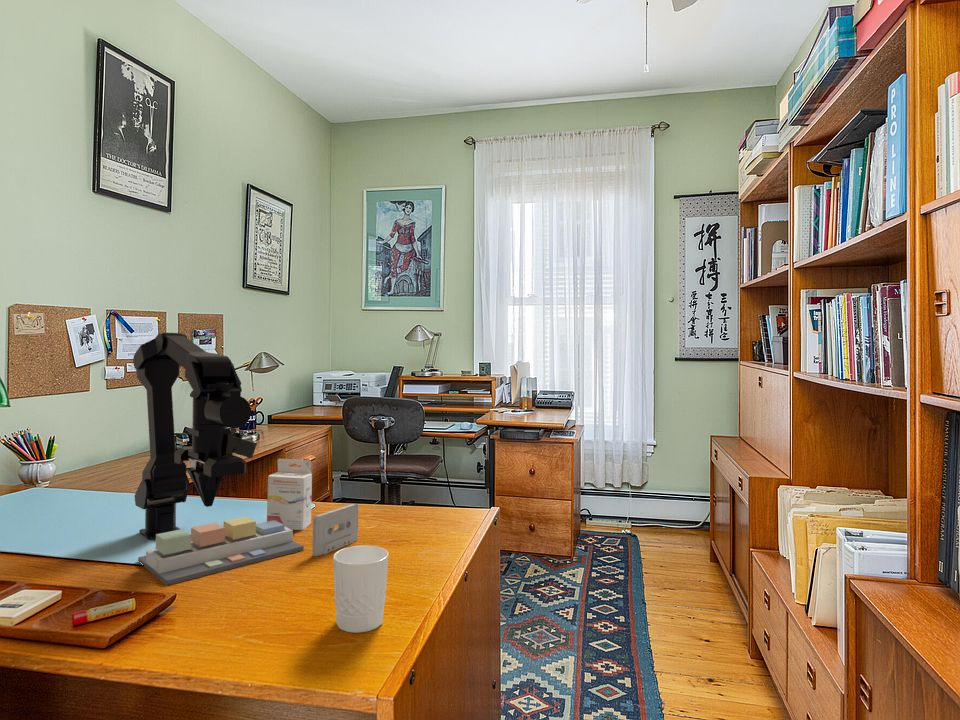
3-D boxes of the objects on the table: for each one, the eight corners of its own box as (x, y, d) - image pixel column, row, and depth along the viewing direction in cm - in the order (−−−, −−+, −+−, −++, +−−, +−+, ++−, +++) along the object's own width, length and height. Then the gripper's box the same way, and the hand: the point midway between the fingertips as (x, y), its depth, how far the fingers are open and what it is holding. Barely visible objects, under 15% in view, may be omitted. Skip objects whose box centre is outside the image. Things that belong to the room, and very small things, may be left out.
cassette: (317, 557, 110) (317, 517, 110) (310, 555, 111) (310, 516, 111) (359, 540, 121) (360, 504, 121) (353, 538, 122) (353, 502, 122)
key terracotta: (190, 541, 108) (191, 527, 108) (215, 536, 111) (215, 522, 111) (200, 547, 105) (200, 532, 105) (224, 541, 108) (224, 527, 108)
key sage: (155, 548, 104) (155, 534, 104) (181, 543, 107) (181, 529, 107) (164, 555, 101) (164, 540, 100) (190, 549, 104) (191, 534, 104)
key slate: (253, 537, 117) (253, 524, 117) (273, 532, 120) (274, 520, 120) (263, 542, 114) (263, 529, 114) (284, 537, 117) (284, 524, 117)
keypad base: (138, 561, 106) (138, 545, 106) (267, 532, 124) (267, 518, 124) (166, 585, 96) (166, 567, 96) (303, 550, 114) (303, 534, 114)
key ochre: (223, 534, 112) (223, 520, 112) (245, 529, 115) (245, 516, 115) (233, 539, 109) (233, 526, 109) (255, 534, 112) (255, 521, 112)
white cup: (337, 610, 88) (338, 545, 88) (389, 609, 89) (390, 545, 89) (327, 636, 80) (328, 564, 80) (385, 634, 81) (386, 563, 81)
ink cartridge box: (265, 528, 127) (266, 462, 127) (275, 522, 132) (276, 458, 132) (303, 530, 126) (304, 463, 126) (311, 524, 131) (312, 459, 131)
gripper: (274, 424, 107) (273, 508, 107) (231, 415, 120) (230, 490, 120) (213, 429, 99) (211, 520, 99) (173, 419, 112) (172, 499, 112)
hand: (208, 506), depth 108 cm, fingers closed
